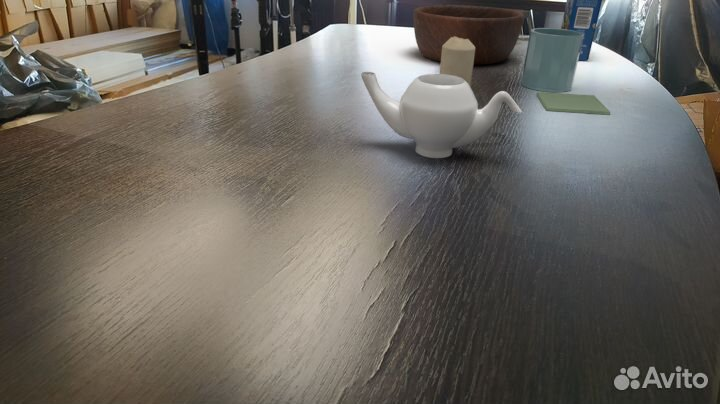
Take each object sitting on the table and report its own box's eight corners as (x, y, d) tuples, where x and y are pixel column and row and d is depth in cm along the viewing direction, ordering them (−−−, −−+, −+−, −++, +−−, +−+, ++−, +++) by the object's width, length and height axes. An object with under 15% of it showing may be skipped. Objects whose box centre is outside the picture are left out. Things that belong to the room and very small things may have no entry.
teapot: (512, 176, 58) (527, 98, 54) (349, 154, 63) (350, 80, 58) (514, 147, 66) (526, 78, 62) (369, 130, 71) (371, 64, 67)
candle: (475, 97, 88) (483, 38, 83) (455, 102, 84) (462, 41, 80) (451, 90, 91) (457, 33, 87) (431, 95, 88) (436, 36, 83)
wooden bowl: (508, 49, 129) (514, 7, 124) (526, 71, 107) (535, 20, 102) (411, 45, 131) (414, 3, 126) (409, 65, 109) (413, 16, 104)
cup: (565, 81, 100) (576, 29, 95) (576, 93, 92) (589, 37, 87) (518, 78, 101) (527, 27, 96) (525, 90, 93) (535, 34, 88)
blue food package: (581, 52, 128) (605, -58, 117) (588, 61, 118) (616, -58, 106) (555, 50, 130) (577, -58, 118) (560, 59, 119) (585, -59, 108)
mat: (593, 98, 89) (594, 95, 89) (610, 114, 81) (610, 111, 80) (536, 94, 90) (536, 91, 90) (546, 110, 82) (546, 107, 81)
